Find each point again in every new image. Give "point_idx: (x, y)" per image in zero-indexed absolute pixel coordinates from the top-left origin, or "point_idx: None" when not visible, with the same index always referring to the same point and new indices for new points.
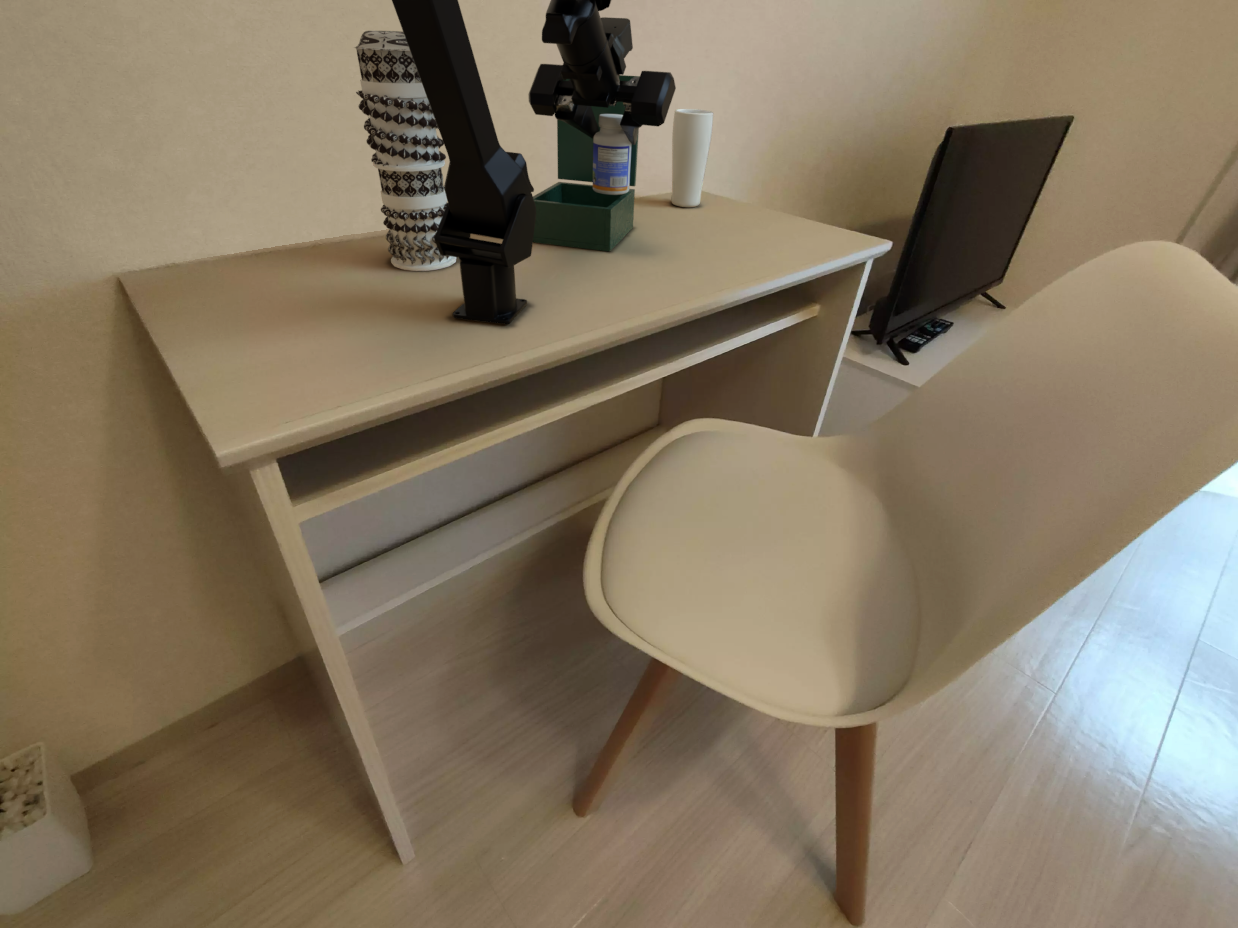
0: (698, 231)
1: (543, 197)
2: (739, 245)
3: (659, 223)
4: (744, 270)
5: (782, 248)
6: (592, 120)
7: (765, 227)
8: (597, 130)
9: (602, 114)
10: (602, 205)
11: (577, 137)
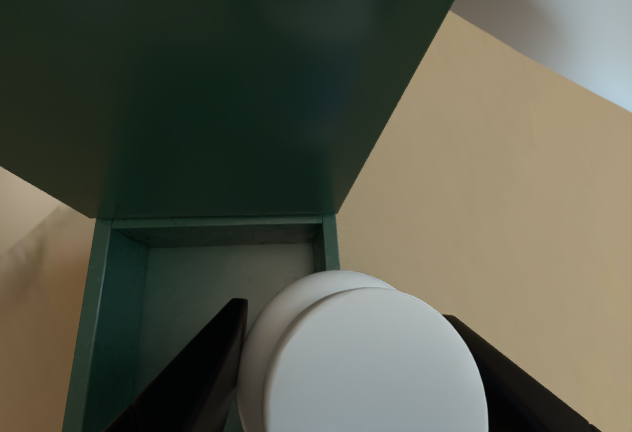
0: (441, 203)
1: (91, 403)
2: (536, 262)
3: (357, 179)
4: (606, 426)
5: (600, 248)
6: (207, 421)
7: (529, 132)
8: (239, 343)
9: (284, 408)
10: (250, 236)
11: (92, 153)
